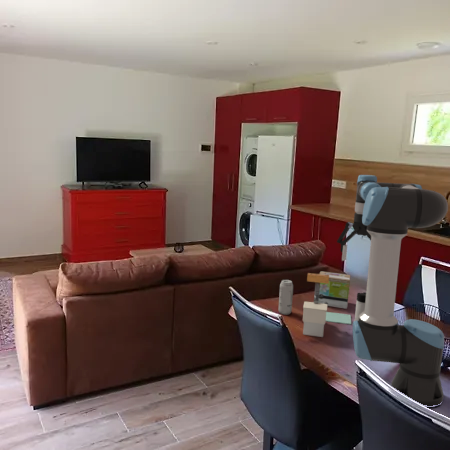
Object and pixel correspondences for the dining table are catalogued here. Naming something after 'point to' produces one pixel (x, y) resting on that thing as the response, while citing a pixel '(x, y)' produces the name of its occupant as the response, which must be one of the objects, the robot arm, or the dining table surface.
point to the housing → (313, 329)
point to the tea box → (335, 290)
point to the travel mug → (360, 304)
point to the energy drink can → (285, 297)
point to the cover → (314, 312)
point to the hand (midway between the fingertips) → (359, 263)
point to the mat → (338, 318)
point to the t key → (317, 283)
